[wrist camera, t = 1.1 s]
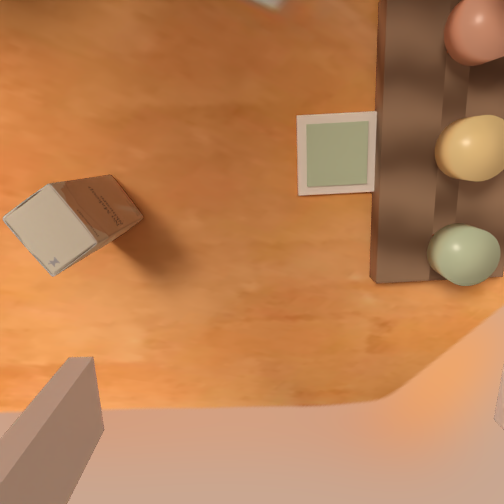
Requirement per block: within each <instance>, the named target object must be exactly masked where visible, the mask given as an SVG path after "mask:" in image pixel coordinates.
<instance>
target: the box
mask: <svg viewBox="0 0 504 504" xmlns="http://www.w3.org/2000/svg"><path fill="white" fill-rule="evenodd" d="M142 219H143V215H142V214H141V212H140V211H139V210H138V208H137V207H136V206H135V205H134V203H133V202H132V201H131V199H130V198H129V197H128V195H127V194H126V193H125V191H124V190H123V189H122V188H121V186H120V185H119V184H118V183H117V181H116V180H115V179H114V177H113V176H112V175H105V176H98V177H92V178H84V179H77V180H71V181H63V182H56V183H49V184H47V185H45V186H44V187H43V188H41V189H40V190H38V191H37V192H36V193H34V194H33V195H31V196H30V197H29V198H27V199H26V200H25V201H23V202H22V203H20V204H19V205H18V206H16V207H15V208H14V209H12V210H11V211H10V212H9V213H7V214H6V215H5V216H4V217H3V221H4V223H5V224H6V225H7V226H8V227H9V228H10V230H11V231H12V232H13V233H14V234H15V235H16V237H17V238H18V239H19V240H20V241H21V242H22V244H23V245H24V246H25V247H26V248H27V249H28V250H29V252H30V253H31V254H32V255H33V256H34V257H35V258H36V259H37V260H38V262H39V263H40V264H41V265H42V266H43V267H44V268H45V269H46V270H47V271H48V273H49V274H50V275H51V276H56V275H57V274H59V273H60V272H62V271H64V270H65V269H67V268H69V267H70V266H72V265H74V264H75V263H77V262H78V261H80V260H82V259H83V258H85V257H87V256H88V255H90V254H91V253H93V252H95V251H96V250H98V249H100V248H102V247H103V246H105V245H107V244H108V243H110V242H111V241H113V240H114V239H116V238H117V237H119V236H120V235H122V234H123V233H125V232H126V231H127V230H129V229H130V228H131V227H133V226H134V225H135V224H137V223H138V222H139V221H141V220H142Z"/></svg>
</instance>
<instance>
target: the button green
mask: <svg viewBox="0 0 504 504" xmlns="http://www.w3.org/2000/svg"><path fill="white" fill-rule="evenodd" d="M427 259H428V262H429V264H430V266H431V267H432V269H433V270H434V271H436V272H437V273H439V274H440V275H442V276H443V277H445V278H446V279H448V280H449V281H451V282H452V283H454V284H457V285H461V286H471V285H475V284H478V283H480V282H482V281H484V280H486V279H487V278H488V277H489V276H490V275H491V274H492V273H493V272H494V271H495V269H496V268H497V266H498V263H499V260H500V246H499V243H498V241H497V239H496V238H495V237H494V236H493V235H492V234H491V233H489V232H487V231H485V230H482V229H479V228H476V227H473V226H470V225H467V224H464V223H454V224H450V225H447V226H445V227H443V228H441V229H440V230H439V231H438V232H436V233H435V235H434V236H433V237H432V239H431V240H430V242H429V245H428V249H427Z"/></svg>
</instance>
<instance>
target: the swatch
mask: <svg viewBox="0 0 504 504" xmlns="http://www.w3.org/2000/svg"><path fill="white" fill-rule="evenodd" d="M376 122H377V111H370V112H351V113H333V114H315V115H297V116H296V125H297V177H298V196H300V195H318V194H337V193H355V192H374V180H375V151H376Z"/></svg>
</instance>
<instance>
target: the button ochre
mask: <svg viewBox="0 0 504 504" xmlns="http://www.w3.org/2000/svg"><path fill="white" fill-rule="evenodd" d="M435 160H436V163H437V166H438V167H439V169H440V170H441V171H442V172H443V173H444V174H445V175H447V176H449V177H451V178H455V179H461V180H468V181H485V180H488V179H491V178H493V177H495V176H496V175H498V174H499V173H500V172H501V171H503V169H504V120H503V119H502V118H500V117H497V116H494V115H481V116H474V117H466V118H461V119H458V120H456V121H454V122H452V123H451V124H449V125H448V126H447V127H446V128H445V129H444V130H443V131H442V132H441V134H440V135H439V137H438V139H437V142H436V145H435Z"/></svg>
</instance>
